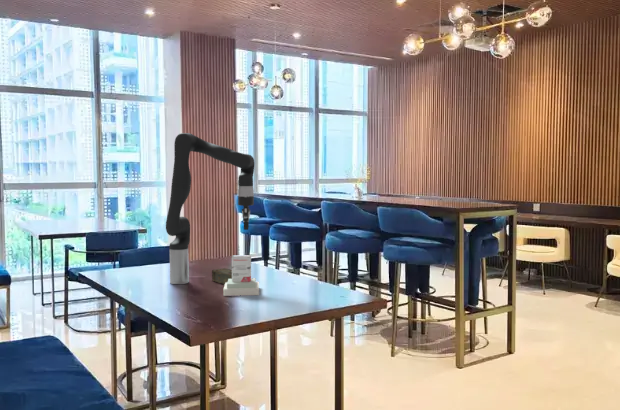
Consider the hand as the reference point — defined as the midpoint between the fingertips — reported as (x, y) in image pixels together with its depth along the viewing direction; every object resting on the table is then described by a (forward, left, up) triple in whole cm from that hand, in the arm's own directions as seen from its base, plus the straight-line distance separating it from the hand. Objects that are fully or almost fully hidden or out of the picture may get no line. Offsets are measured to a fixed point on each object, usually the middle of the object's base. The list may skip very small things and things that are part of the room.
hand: (246, 228), depth 272 cm
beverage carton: (-9, -9, -29) cm, 31 cm away
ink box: (+13, -2, -23) cm, 27 cm away
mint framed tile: (+13, -2, -28) cm, 31 cm away
